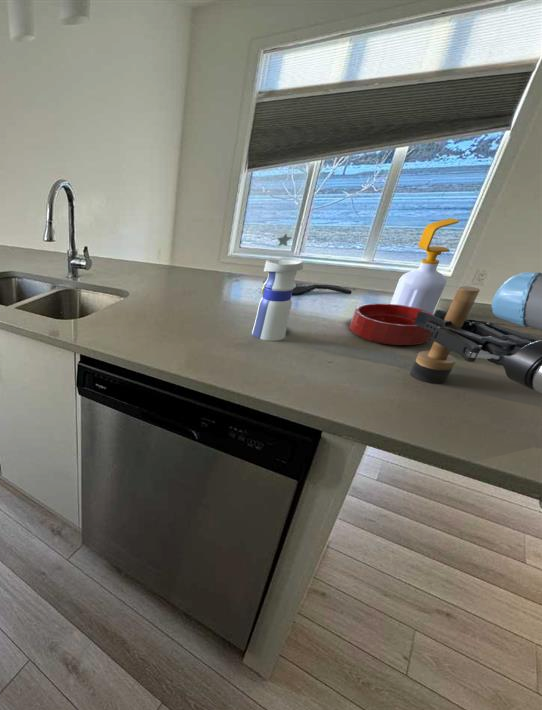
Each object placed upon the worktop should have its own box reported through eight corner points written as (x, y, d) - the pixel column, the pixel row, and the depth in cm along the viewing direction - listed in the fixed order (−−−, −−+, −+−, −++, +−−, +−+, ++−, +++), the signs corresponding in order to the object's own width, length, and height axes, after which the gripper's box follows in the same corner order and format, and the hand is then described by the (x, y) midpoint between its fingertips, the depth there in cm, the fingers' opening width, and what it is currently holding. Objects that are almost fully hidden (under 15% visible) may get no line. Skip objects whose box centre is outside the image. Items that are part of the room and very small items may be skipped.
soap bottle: (437, 322, 104) (483, 221, 92) (395, 321, 107) (434, 223, 94) (419, 310, 112) (459, 215, 99) (380, 309, 114) (414, 217, 102)
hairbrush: (357, 288, 122) (265, 282, 130) (353, 300, 124) (262, 293, 132) (350, 280, 129) (262, 275, 137) (346, 292, 131) (260, 286, 139)
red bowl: (424, 328, 102) (433, 307, 99) (431, 352, 91) (441, 330, 89) (349, 319, 110) (355, 300, 107) (347, 341, 100) (355, 320, 97)
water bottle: (242, 331, 109) (260, 235, 97) (270, 326, 111) (291, 231, 98) (263, 343, 102) (286, 241, 90) (293, 337, 103) (319, 236, 91)
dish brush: (444, 373, 84) (487, 285, 74) (448, 385, 80) (494, 294, 70) (408, 368, 87) (446, 282, 77) (411, 379, 83) (450, 291, 73)
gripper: (491, 395, 64) (380, 336, 85) (595, 388, 64) (458, 330, 84) (515, 353, 61) (393, 302, 81) (626, 345, 60) (475, 296, 80)
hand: (426, 317), depth 82 cm, fingers closed on dish brush, 3 cm apart
